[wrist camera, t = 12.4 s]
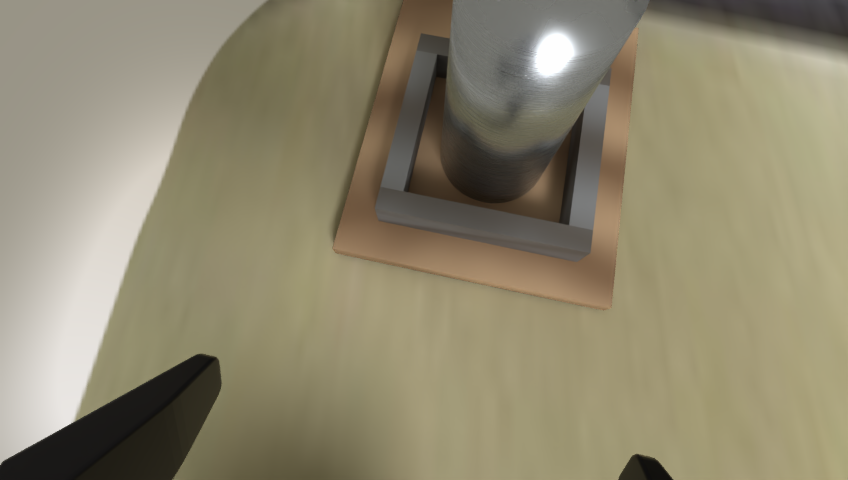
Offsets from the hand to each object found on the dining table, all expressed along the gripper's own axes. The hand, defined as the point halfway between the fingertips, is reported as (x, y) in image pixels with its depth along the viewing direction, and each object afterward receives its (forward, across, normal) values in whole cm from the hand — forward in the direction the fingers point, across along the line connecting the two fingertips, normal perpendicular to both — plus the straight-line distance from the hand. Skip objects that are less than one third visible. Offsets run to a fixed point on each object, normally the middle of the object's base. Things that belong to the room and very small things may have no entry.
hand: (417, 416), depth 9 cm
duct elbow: (+20, -1, -2) cm, 20 cm away
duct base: (+20, -1, -1) cm, 20 cm away
